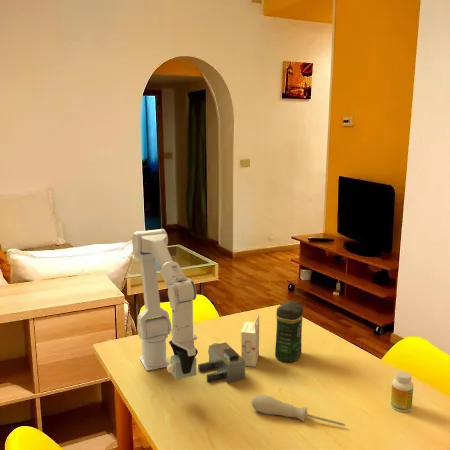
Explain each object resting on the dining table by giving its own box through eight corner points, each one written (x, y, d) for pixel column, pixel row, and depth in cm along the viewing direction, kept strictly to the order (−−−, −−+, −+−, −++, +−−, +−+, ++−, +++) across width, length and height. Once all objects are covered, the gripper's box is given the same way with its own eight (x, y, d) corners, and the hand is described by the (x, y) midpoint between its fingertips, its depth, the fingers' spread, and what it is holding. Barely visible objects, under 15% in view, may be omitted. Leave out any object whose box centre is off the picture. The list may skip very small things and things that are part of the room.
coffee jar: (294, 365, 150) (296, 310, 146) (271, 359, 153) (272, 306, 150) (304, 353, 158) (306, 301, 154) (282, 348, 162) (284, 297, 158)
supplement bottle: (409, 415, 123) (412, 381, 121) (388, 408, 126) (390, 375, 124) (413, 405, 127) (416, 372, 126) (393, 399, 130) (395, 367, 128)
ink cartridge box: (244, 353, 158) (245, 312, 155) (259, 355, 157) (259, 313, 154) (240, 365, 149) (240, 322, 146) (255, 367, 148) (256, 324, 146)
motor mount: (192, 363, 151) (192, 343, 150) (223, 356, 155) (223, 337, 154) (211, 387, 137) (211, 365, 135) (245, 379, 141) (245, 357, 140)
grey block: (165, 373, 131) (165, 357, 130) (190, 367, 134) (190, 351, 133) (170, 381, 127) (170, 364, 126) (196, 375, 130) (196, 358, 129)
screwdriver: (344, 438, 116) (345, 426, 115) (249, 413, 125) (249, 401, 123) (346, 424, 120) (347, 412, 119) (254, 400, 129) (254, 388, 127)
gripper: (206, 330, 123) (206, 377, 126) (187, 312, 136) (188, 355, 139) (180, 335, 120) (181, 383, 123) (164, 316, 133) (165, 359, 136)
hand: (183, 368), depth 130 cm, fingers closed on grey block, 4 cm apart
